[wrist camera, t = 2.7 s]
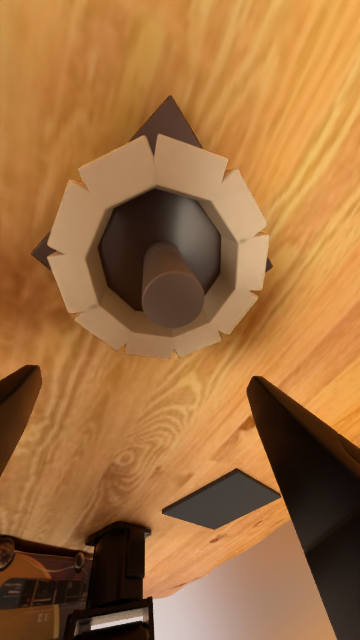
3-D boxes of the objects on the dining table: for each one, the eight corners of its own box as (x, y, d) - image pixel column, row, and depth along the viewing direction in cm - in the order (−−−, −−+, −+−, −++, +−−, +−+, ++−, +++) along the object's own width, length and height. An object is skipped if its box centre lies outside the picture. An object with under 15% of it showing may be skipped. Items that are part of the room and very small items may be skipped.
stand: (157, 349, 15) (164, 429, 10) (37, 250, 11) (-64, 297, 6) (267, 263, 13) (348, 306, 8) (168, 101, 9) (201, -40, 4)
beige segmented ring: (159, 357, 14) (162, 384, 12) (26, 252, 10) (-4, 265, 8) (274, 268, 12) (301, 283, 10) (168, 89, 8) (176, 50, 6)
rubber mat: (213, 526, 33) (214, 529, 33) (161, 510, 28) (162, 513, 27) (280, 494, 30) (281, 497, 30) (236, 468, 25) (238, 472, 25)
